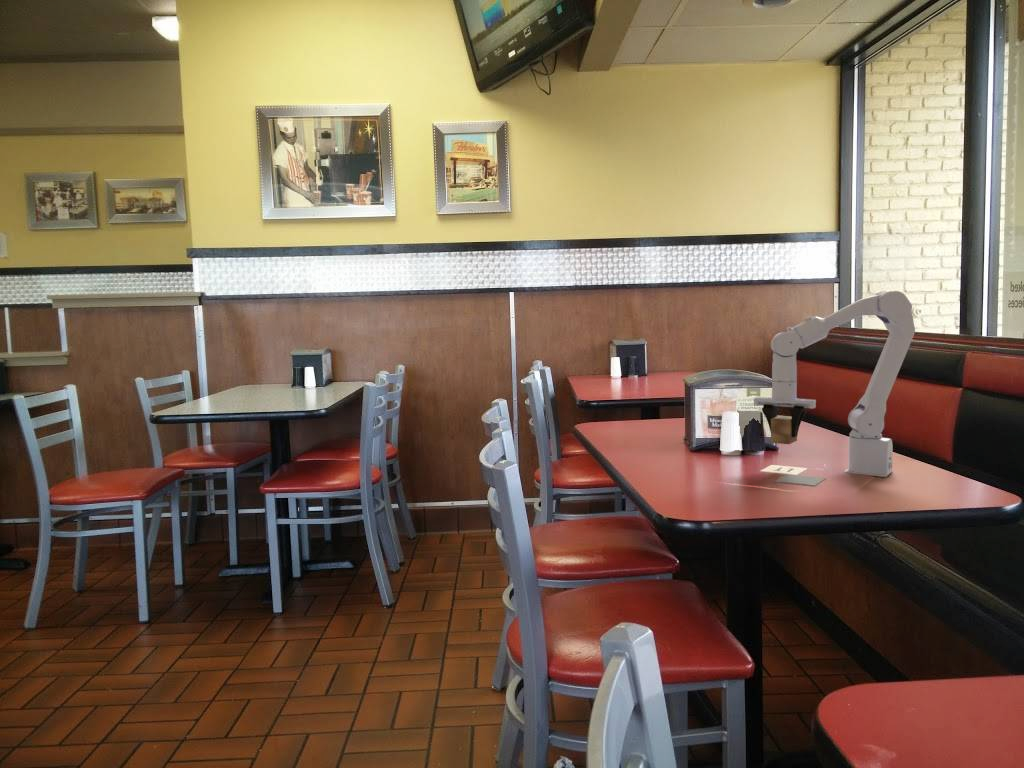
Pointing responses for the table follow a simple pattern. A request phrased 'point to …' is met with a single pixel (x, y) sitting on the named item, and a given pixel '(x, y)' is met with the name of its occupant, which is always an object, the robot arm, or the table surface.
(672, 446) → the table surface
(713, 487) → the table surface
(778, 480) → the grey mat
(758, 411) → the grey upright block
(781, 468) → the tile
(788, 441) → the walnut block
